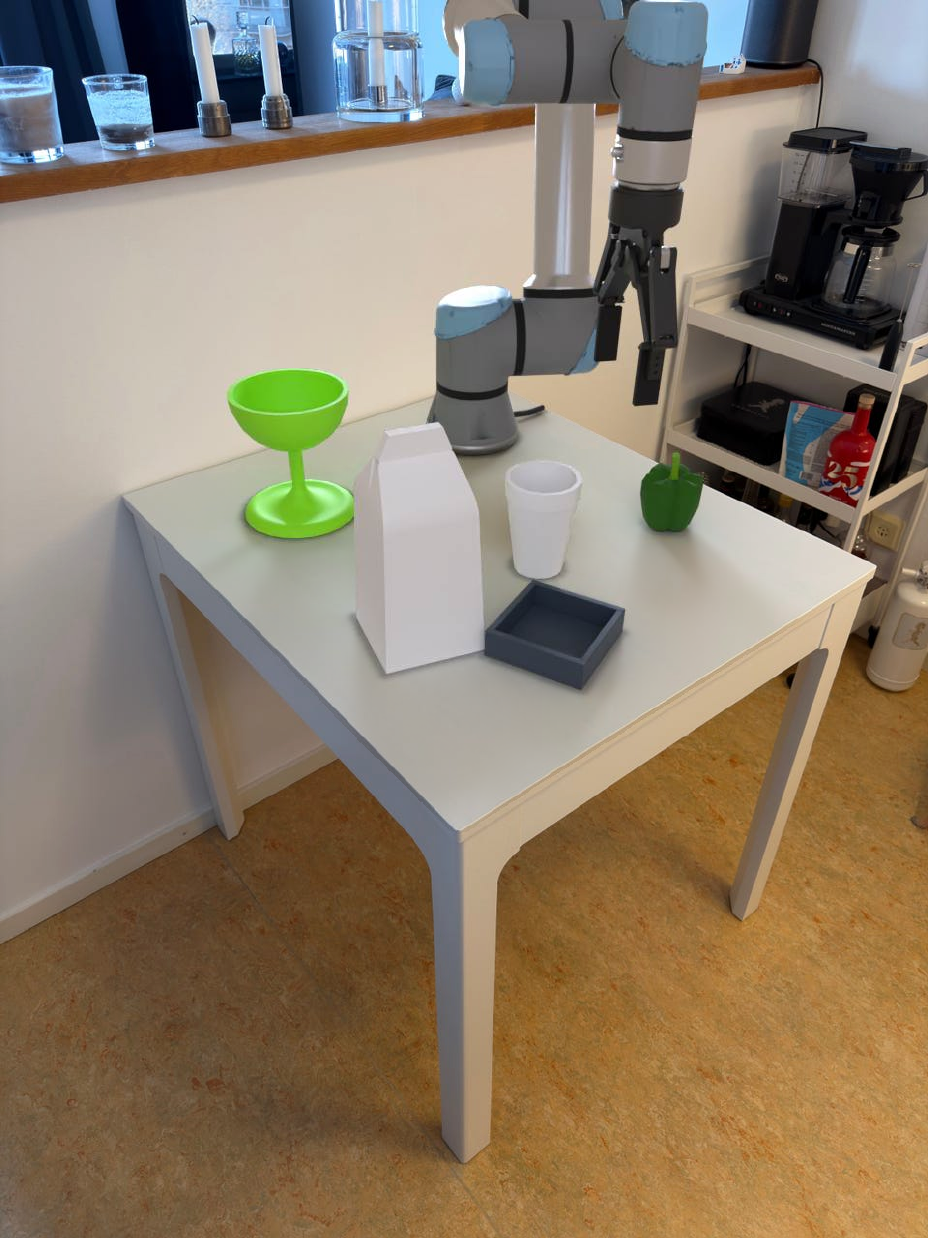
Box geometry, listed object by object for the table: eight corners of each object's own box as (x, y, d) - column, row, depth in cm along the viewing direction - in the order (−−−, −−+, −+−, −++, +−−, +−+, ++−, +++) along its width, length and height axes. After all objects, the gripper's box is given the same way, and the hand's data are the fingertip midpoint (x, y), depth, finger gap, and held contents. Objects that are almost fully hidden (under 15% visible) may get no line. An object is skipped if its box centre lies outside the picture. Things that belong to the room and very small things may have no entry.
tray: (531, 602, 111) (532, 579, 109) (622, 632, 107) (625, 608, 105) (484, 655, 103) (484, 630, 101) (581, 690, 98) (583, 665, 96)
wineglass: (298, 551, 120) (283, 426, 110) (221, 512, 128) (201, 393, 118) (380, 505, 131) (373, 387, 120) (304, 473, 139) (292, 359, 128)
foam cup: (521, 540, 123) (526, 453, 115) (584, 557, 120) (593, 469, 112) (490, 573, 116) (492, 484, 109) (555, 593, 113) (562, 502, 105)
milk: (386, 674, 100) (374, 462, 85) (356, 617, 109) (340, 415, 93) (484, 649, 104) (491, 442, 88) (448, 596, 112) (447, 399, 97)
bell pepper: (682, 545, 122) (694, 479, 116) (627, 528, 126) (636, 463, 120) (704, 519, 128) (717, 455, 122) (651, 503, 132) (660, 441, 126)
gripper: (576, 160, 101) (562, 346, 114) (659, 211, 82) (630, 427, 94) (639, 159, 103) (618, 342, 115) (735, 208, 83) (697, 422, 96)
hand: (623, 381), depth 105 cm, fingers open, 13 cm apart
